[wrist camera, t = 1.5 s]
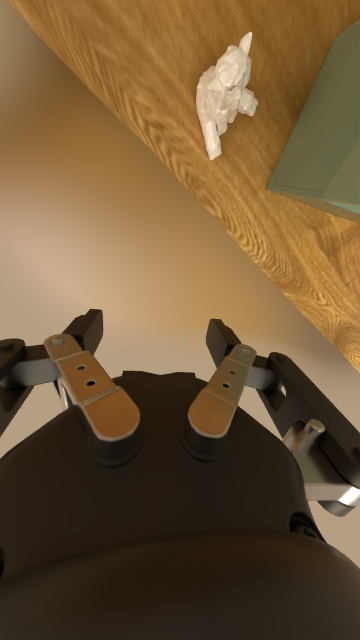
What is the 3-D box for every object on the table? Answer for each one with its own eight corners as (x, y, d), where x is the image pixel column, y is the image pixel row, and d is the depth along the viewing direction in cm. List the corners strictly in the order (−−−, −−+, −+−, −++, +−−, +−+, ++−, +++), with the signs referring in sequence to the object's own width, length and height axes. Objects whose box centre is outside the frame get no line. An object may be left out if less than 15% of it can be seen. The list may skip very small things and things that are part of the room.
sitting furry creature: (211, 164, 34) (225, 161, 24) (177, 116, 30) (177, 90, 20) (257, 108, 29) (295, 78, 20) (224, 43, 26) (251, -31, 16)
